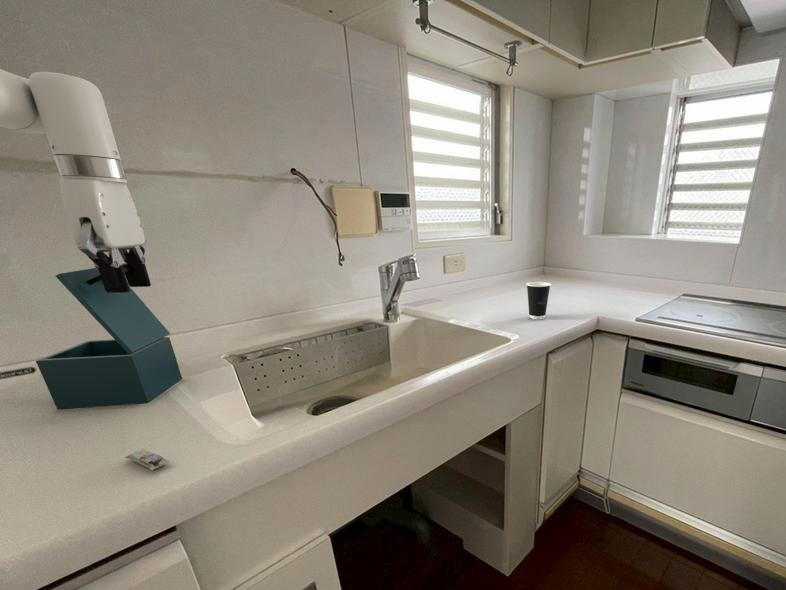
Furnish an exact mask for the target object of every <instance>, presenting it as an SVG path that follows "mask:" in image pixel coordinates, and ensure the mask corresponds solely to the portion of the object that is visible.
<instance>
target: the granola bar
mask: <svg viewBox="0 0 786 590" xmlns="http://www.w3.org/2000/svg"><path fill="white" fill-rule="evenodd" d="M124 458H125V459H128V460H131V461H133V462H134V463H137V464H138V465H141V466H142V467H145V468H148V469H149V470H150V471H154V470H156V469H158V468H161V467H163V466H165V465H166V464H168V463H170V461H171V460H168V459H166V458H165V457H163V456H161V455H158V454H157V453H154V452H152V451H149V450H148V449H146V448H142V449H138V450H137V451H134V452H132V453H130V454H129V455H126V456H124Z"/></svg>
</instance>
